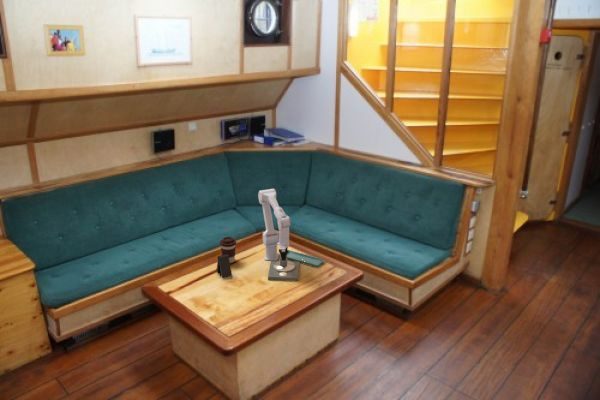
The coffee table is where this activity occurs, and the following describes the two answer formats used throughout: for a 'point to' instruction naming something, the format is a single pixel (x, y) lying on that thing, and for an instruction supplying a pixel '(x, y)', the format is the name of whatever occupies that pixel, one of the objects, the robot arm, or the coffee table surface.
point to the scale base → (283, 273)
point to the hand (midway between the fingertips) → (284, 257)
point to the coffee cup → (228, 247)
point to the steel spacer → (283, 262)
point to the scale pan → (284, 269)
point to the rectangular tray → (304, 258)
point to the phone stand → (224, 266)
